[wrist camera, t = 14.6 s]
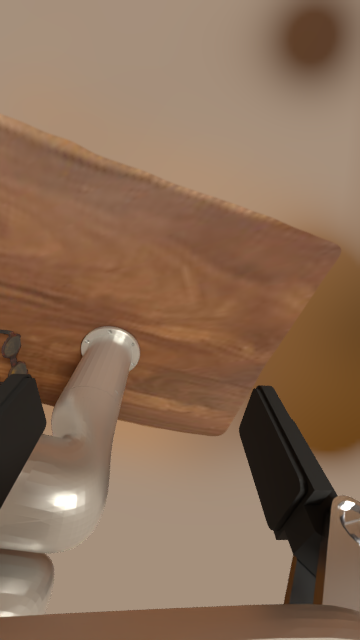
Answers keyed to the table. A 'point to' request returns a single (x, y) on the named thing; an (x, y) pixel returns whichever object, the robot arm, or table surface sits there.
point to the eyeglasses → (13, 353)
